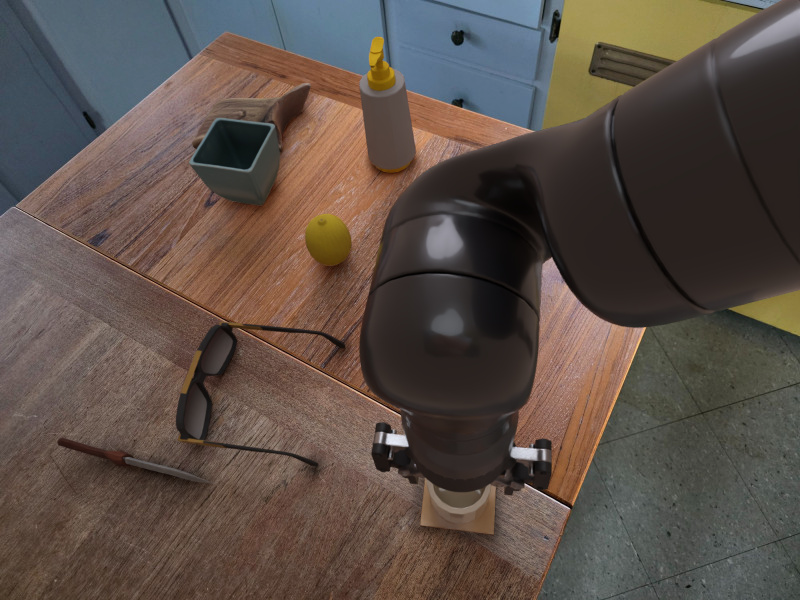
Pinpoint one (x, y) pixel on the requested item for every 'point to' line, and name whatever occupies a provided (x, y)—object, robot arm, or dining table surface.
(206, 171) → the flower pot
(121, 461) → the knife
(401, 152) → the soap bottle
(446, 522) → the near coaster
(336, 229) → the lemon
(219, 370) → the sunglasses
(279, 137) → the fragment
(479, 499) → the cream dish
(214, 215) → the dining table surface
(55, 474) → the dining table surface
